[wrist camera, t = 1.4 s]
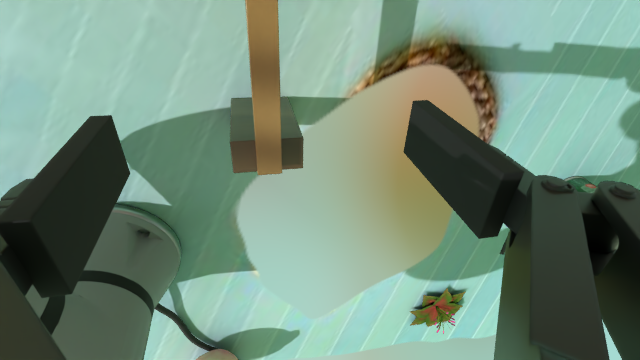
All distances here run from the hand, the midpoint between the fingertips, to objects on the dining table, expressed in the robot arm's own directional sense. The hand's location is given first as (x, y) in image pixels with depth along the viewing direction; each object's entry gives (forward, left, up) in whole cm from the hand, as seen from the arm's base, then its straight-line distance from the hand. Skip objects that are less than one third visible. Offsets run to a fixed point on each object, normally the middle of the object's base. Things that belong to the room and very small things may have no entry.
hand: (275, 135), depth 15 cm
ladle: (+1, 0, -22) cm, 22 cm away
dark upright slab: (-7, 0, -22) cm, 23 cm away
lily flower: (-48, -31, -22) cm, 61 cm away
